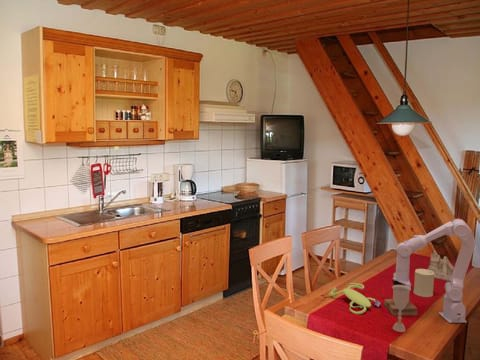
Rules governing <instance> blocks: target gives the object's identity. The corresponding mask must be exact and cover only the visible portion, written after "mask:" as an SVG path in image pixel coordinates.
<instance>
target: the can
mask: <svg viewBox="0 0 480 360" xmlns="http://www.w3.org/2000/svg"><path fill="white" fill-rule="evenodd" d="M427 269H428V268H427ZM427 269H425V268H416V269H415V270H414V285H413V294H414V295H416V296H419V297H421V298H431V297H433V296H434V285H435V284H434V283H435V278H434V274H435V273H434V272H433V271H431V270H427Z"/></svg>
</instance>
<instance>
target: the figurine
mask: <svg viewBox="0 0 480 360" xmlns="http://www.w3.org/2000/svg"><path fill="white" fill-rule="evenodd" d="M353 288H356V289H359V290H364V289H365V285H364V284H363V283H355V282H349V285H348V287H347V288H345V287H344V289H342V290H339V291H337V287H336V286H335V287H333V288H331V290H330V291H329V293H328V297H334V296H338V295H341V294H342V293H343V294H344V295H345V297H346V298H347V299H349V300H350V302H349V312H350V313H352V314H354V315H362V314H364V313H365V312H366V311H367V308H371V306H372V303H371V301H373V305H374V306H376V307H377V308H380V305H381V304H382V303H381V302H380V301H379V300H377V299H376V298H372V297H366V296H365V295H364V294H362V293H361V292H359V291H356V290H355V289H353ZM354 303H355V304H357V306H353V304H354ZM352 308H353V309H355V308H360V309H362V310H360V311H355V310H353V309H352Z"/></svg>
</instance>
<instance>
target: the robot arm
mask: <svg viewBox="0 0 480 360" xmlns="http://www.w3.org/2000/svg"><path fill="white" fill-rule="evenodd" d="M453 234H454V235H455V237H457V238H458V239H460V242H461V246H460V249H459V251H458V255H457V259H456V260H455V261H456V262H455V264H454V266H453V267H454V270H453V273H452V275H451V277H450V278H449V281H447V282H445V284H444V289H445V294H444V295H443V306H442V311H441V312H438V314H439V315H440V316H441V317H442V318H443V319H444V320H445V321H446V322H448V323H449V324H450V323H452V324H453V323H454V324H455V323H462V324H463V323H465V324H466V323H467V322H468V321H467V320H466V314H467V312H466V311H467V308H466V306H465V305H464V303H463V297H464V292H463V289H464V280H465V277H466V274H467V271H468V268H469V265H470V263H471V259H472V256H473V254H474V249H475V247H476V243H477V242H476V239H475V236H474V234H473V231H472V229H471V228H470V227H469V225H468V223H466V222H465V220H464V219H462V218H455V219H452V221H451V220H450V221H448V222H446V223H444V224H442V225H440V226H439V227H437V228H435V229H433V230H432V231H430V232H428V233H426V234H425V235H422V234H418V235H417V234H415V235H413V237H411V238H410V239H408V240H404V241H403V242H399V243H398V244H397V246H396V253H397V254H396V261H395V272H393V277H392V279H391V282H392V285H393V286H394V285H404V286H408V287H410V288H411V290H412V288H413V287H412V283H411V281H410V265H411V263H410V262H411V260H410V256H411V254H413V253H415V252H418V251H419V250H422V249H424V248H425V247H427V246H428V243H430V242H432V241H434V240H436V239H438V238H441V237H443V236H450V237H453V236H454V235H453Z"/></svg>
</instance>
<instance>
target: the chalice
mask: <svg viewBox="0 0 480 360" xmlns="http://www.w3.org/2000/svg"><path fill="white" fill-rule="evenodd" d="M392 290H393V291H392V293H393V294H392V299H393V300H394V303H395V305H396V307H397V309H399V313H398V315H397V320H398V321H397V322H395V323H394V324H393V326H392V329H393V331H396V332H400V333H403V332H406V327H405V325H404V323H402V319H403V315H402V312H401V311H402V310H403V309H404V308H405V307H406V305H407V303H408V301H410V291H411V290H412V289H411V288H410V287H408V286H404V285H394V284H393V285H392Z"/></svg>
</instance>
